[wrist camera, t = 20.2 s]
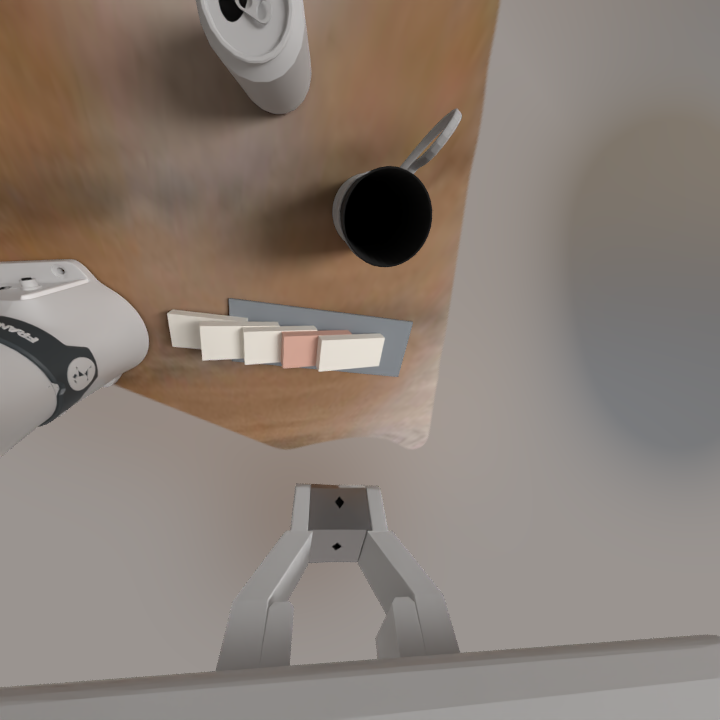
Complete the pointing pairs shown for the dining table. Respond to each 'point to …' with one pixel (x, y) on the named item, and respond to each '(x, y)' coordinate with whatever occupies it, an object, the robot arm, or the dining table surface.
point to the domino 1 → (192, 326)
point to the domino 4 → (303, 347)
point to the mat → (330, 320)
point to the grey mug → (390, 205)
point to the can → (261, 48)
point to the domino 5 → (348, 351)
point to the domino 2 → (225, 338)
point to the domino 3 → (266, 343)
